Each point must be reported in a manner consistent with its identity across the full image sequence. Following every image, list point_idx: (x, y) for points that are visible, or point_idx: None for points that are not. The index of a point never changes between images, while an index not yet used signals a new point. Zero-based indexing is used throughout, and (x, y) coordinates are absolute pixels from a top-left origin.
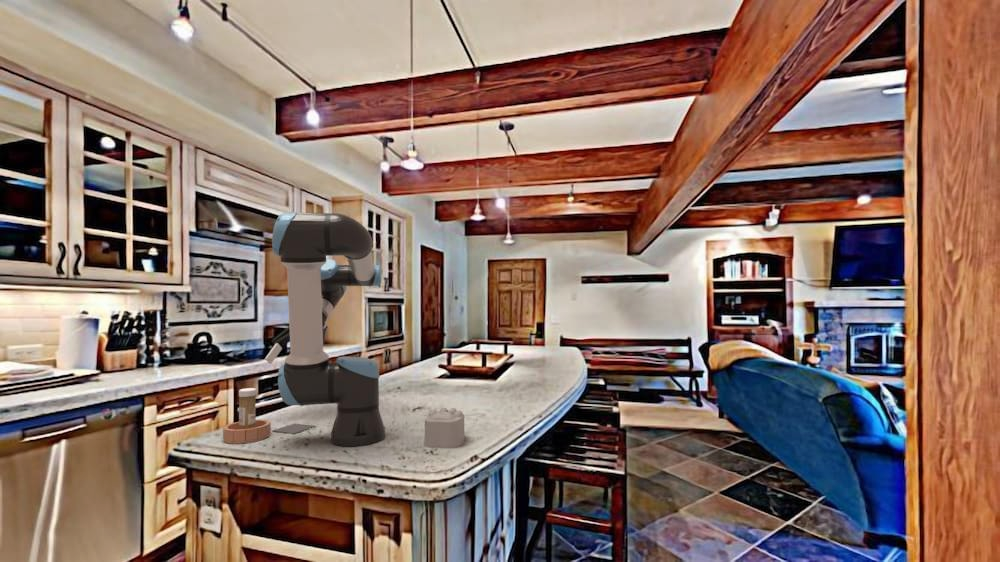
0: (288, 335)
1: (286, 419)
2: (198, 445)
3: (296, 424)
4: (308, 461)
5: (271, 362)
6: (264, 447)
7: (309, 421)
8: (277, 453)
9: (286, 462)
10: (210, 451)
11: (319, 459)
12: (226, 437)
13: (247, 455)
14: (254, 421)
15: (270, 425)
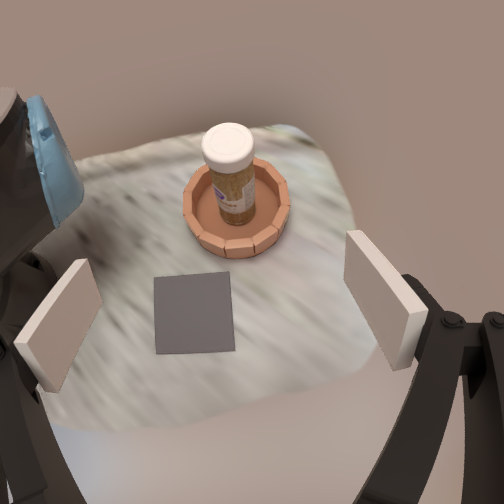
0: (396, 427)
1: (308, 381)
2: (283, 145)
3: (219, 344)
4: None
5: (345, 279)
6: (144, 188)
7: (221, 392)
8: (98, 180)
9: None
10: None
11: None
12: None
13: (139, 151)
14: (217, 201)
15: (198, 239)
